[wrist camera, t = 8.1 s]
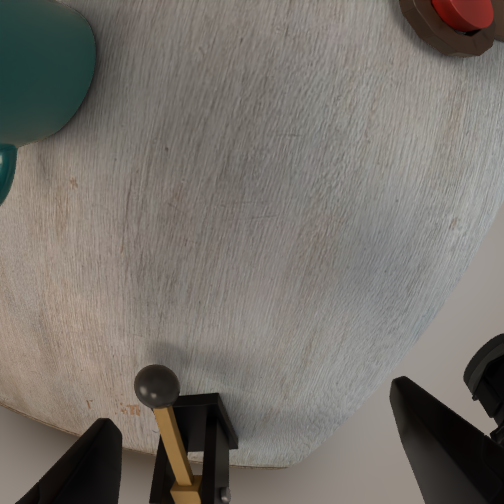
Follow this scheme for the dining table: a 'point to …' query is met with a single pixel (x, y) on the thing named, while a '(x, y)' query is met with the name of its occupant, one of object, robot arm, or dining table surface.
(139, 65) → the dining table surface
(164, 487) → the switch bracket
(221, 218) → the dining table surface
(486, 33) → the button block
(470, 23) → the button
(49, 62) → the cup
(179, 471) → the switch lever
